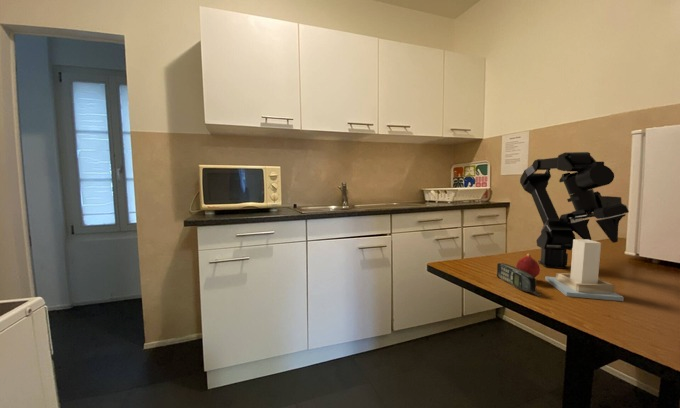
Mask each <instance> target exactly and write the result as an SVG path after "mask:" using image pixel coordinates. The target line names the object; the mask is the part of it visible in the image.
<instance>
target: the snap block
mask: <svg viewBox="0 0 680 408" xmlns="http://www.w3.org/2000/svg"><path fill="white" fill-rule="evenodd" d="M601 248H602V242H599V241H596V240H592V239H591V240H588V239H582V238H580V239H577V238H575V239H573V247H572V250H571V252H572V253H571V265H570V273H571V275H570V279H572V280H574V281H576V282H578V283H582V284H598V278H599V271H600V260H601V250H602V249H601Z"/></svg>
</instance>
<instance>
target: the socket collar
mask: <svg viewBox="0 0 680 408" xmlns="http://www.w3.org/2000/svg"><path fill="white" fill-rule="evenodd" d="M570 275H571V272H569V273H567V272H565V273H564V272H563V273H562V272H556V273H555V277H556V280H557V281H559V282H561V283H562V284H564V285H566V286H568V287H570V288H572V289H574V290H576V291H577V292H596V293H614V292H615V286H616V285H615V284H612V283H610V282H608V281H606V280H604V279H600V278H599V277H598V284H582V283H578V282H576V281H574V280H572V279H570Z"/></svg>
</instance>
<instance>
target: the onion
mask: <svg viewBox="0 0 680 408" xmlns="http://www.w3.org/2000/svg"><path fill="white" fill-rule="evenodd" d="M515 268H518V269H520V270H522V271H525V272H526V273H528V274H530V275H532V276H534V278H535V279H536V277H537V276H538V275H539V274H540V271H541V270H540V265H539V262H538V261H537V260H535V259H534V258H533V257H532V256H531V254H530V253H527V254H526V255H525V256H524V257H522V258H520V259H519V260H518V261H517V262H516V266H515Z"/></svg>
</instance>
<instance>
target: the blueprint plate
mask: <svg viewBox="0 0 680 408" xmlns="http://www.w3.org/2000/svg"><path fill="white" fill-rule="evenodd" d="M545 281H546V282H548V283H549V284H550V285H551V286H553V287H554V288H555V289H557V290H558V291H559V292H561V293H562V294H563V295H564V296H566V297H572V298H582V299H583V298H584V299H594V300H604V301H605V300H606V301H607V300H608V301H617V302H618V301H619V302H624V298H625V296H622V295H620V294H619V293H617V292H615V291H614V293H596V292H577V291H576V290H574V289H572V288H570V287H568V286H566V285H564V284H562V283H561V282H559V281H557V280H556V276H547V275H546V276H545Z"/></svg>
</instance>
